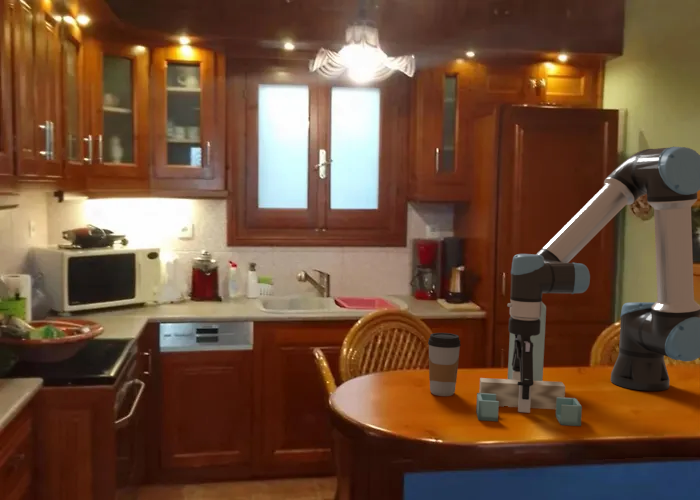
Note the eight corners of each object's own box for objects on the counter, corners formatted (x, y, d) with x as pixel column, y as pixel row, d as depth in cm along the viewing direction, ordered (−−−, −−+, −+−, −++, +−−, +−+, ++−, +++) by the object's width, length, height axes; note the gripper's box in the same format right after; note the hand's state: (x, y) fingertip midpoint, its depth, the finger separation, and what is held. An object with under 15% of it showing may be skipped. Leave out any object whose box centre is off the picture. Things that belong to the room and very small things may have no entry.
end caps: (574, 417, 169) (575, 398, 169) (580, 426, 163) (581, 406, 162) (476, 411, 171) (477, 392, 171) (478, 420, 165) (479, 400, 165)
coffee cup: (457, 398, 182) (460, 339, 181) (424, 395, 184) (426, 337, 182) (459, 390, 190) (461, 333, 189) (427, 387, 192) (429, 331, 190)
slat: (560, 405, 179) (561, 382, 179) (563, 410, 175) (565, 386, 175) (479, 401, 181) (480, 377, 180) (480, 406, 177) (481, 382, 176)
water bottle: (534, 389, 192) (539, 296, 190) (500, 382, 198) (504, 292, 196) (549, 382, 200) (553, 293, 198) (515, 376, 206) (519, 289, 204)
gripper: (503, 308, 189) (499, 389, 190) (515, 325, 165) (510, 418, 166) (533, 310, 188) (528, 391, 190) (549, 327, 164) (544, 420, 165)
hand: (520, 404), depth 178 cm, fingers open, 12 cm apart
